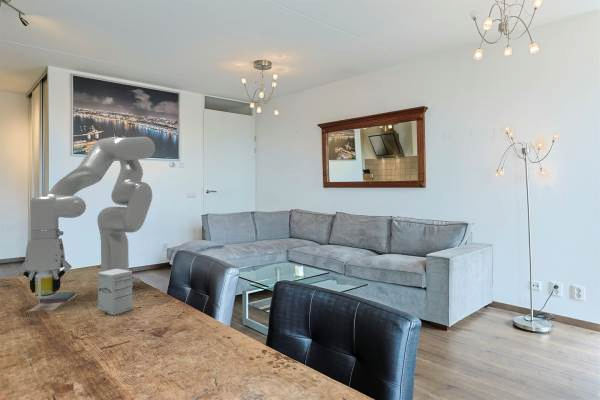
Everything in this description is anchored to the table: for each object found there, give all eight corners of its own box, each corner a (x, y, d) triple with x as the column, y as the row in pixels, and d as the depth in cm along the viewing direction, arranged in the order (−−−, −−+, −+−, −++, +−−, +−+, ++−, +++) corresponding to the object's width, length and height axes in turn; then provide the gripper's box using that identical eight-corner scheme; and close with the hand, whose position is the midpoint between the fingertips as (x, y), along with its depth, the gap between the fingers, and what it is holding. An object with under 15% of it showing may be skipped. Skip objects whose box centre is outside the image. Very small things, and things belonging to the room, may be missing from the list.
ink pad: (75, 294, 138) (75, 291, 138) (66, 301, 130) (66, 298, 130) (50, 296, 136) (50, 292, 136) (39, 303, 128) (39, 299, 128)
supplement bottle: (59, 294, 126) (59, 264, 126) (46, 299, 121) (46, 268, 120) (44, 293, 127) (43, 264, 126) (30, 298, 121) (30, 267, 121)
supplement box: (97, 312, 122) (96, 272, 121) (118, 305, 128) (117, 267, 128) (112, 315, 118) (112, 275, 118) (133, 309, 125) (132, 270, 124)
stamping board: (77, 296, 138) (77, 293, 138) (56, 313, 121) (56, 309, 121) (49, 298, 136) (49, 295, 136) (23, 314, 119) (23, 311, 119)
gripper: (78, 233, 129) (78, 287, 129) (20, 234, 125) (21, 289, 126) (69, 235, 121) (70, 293, 122) (8, 236, 118) (8, 295, 118)
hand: (45, 290), depth 124 cm, fingers closed on supplement bottle, 5 cm apart
